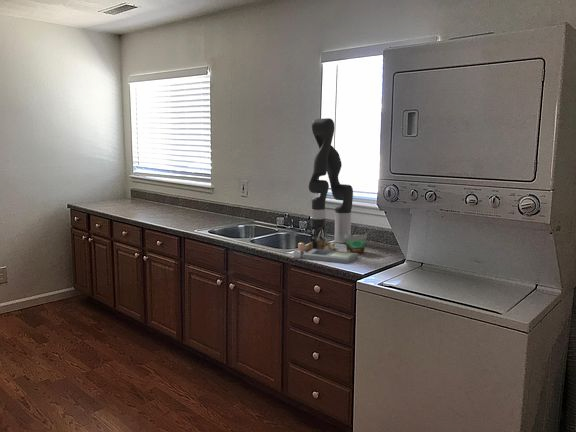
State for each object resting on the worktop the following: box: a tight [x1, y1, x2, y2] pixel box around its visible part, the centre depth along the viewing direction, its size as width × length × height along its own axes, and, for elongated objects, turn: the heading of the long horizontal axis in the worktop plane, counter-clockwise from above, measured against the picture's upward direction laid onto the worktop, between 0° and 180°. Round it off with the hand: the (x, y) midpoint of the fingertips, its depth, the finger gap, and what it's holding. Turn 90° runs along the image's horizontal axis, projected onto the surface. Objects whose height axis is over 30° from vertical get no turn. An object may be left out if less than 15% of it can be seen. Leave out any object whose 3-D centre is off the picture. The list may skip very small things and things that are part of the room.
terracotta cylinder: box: [297, 242, 305, 256], centre depth 265 cm, size 3×3×6 cm
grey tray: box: [302, 249, 359, 264], centre depth 258 cm, size 15×24×2 cm, turn 64°
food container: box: [344, 232, 368, 255], centre depth 268 cm, size 12×6×10 cm, turn 103°
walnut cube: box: [310, 238, 326, 250], centre depth 274 cm, size 6×6×6 cm
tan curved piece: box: [304, 241, 336, 252], centre depth 276 cm, size 14×12×3 cm
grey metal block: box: [293, 249, 302, 259], centre depth 260 cm, size 4×4×4 cm
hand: (317, 247), depth 275 cm, fingers open, 8 cm apart
